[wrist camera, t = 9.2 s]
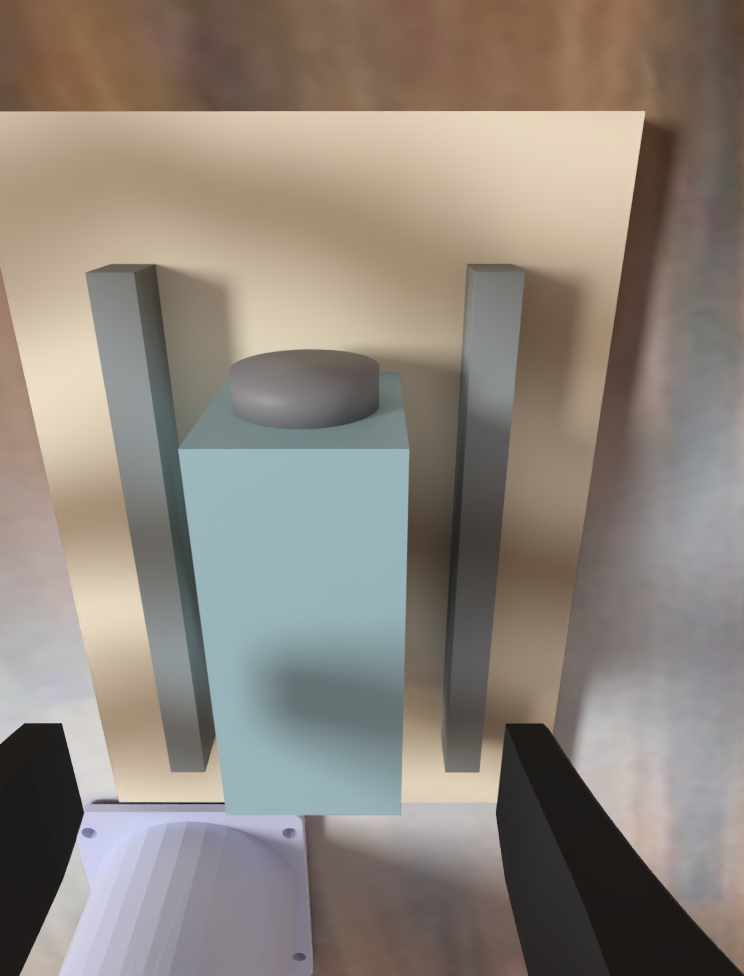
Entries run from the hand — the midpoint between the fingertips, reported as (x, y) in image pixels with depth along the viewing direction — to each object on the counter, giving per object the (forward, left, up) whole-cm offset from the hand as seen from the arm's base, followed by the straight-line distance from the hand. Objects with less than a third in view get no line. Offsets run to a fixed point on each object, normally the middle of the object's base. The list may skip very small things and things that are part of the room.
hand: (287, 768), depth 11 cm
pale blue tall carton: (0, 0, -8) cm, 8 cm away
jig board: (0, 0, -9) cm, 9 cm away
